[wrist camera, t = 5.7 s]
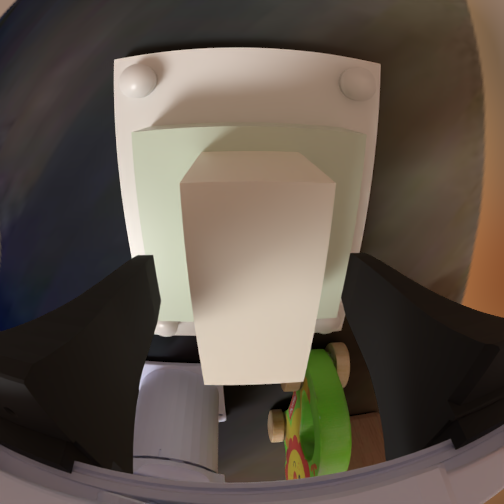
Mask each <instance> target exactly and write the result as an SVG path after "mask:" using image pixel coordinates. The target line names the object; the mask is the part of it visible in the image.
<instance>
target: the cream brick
mask: <svg viewBox="0 0 504 504" xmlns="http://www.w3.org/2000/svg"><path fill="white" fill-rule="evenodd" d="M335 189H336V183H335V182H334V181H333V180H332V179H330V178H329V177H328V176H327V175H326V174H325V173H323V172H322V171H321V170H320V169H319V168H318V167H316V166H315V165H314V164H313V163H312V162H310V161H309V160H308V159H307V158H305V157H304V156H303V155H302V154H301V153H299V152H285V151H211V152H201V153H200V155H199V156H198V157H197V159H196V160H195V162H194V163H193V164H192V166H191V167H190V169H189V170H188V172H187V173H186V174H185V176H184V177H183V179H182V180H181V182H180V197H181V210H182V221H183V232H184V243H185V252H186V262H187V271H188V279H189V287H190V295H191V303H192V310H193V317H194V324H195V331H196V337H197V344H198V350H199V356H200V362H201V368H202V374H203V380H204V385H256V384H277V383H292V382H303V381H304V377H305V373H306V368H307V364H308V359H309V354H310V350H311V345H312V340H313V335H314V330H315V325H316V319H317V314H318V308H319V303H320V297H321V291H322V285H323V279H324V273H325V267H326V260H327V253H328V246H329V239H330V232H331V224H332V216H333V207H334V198H335Z"/></svg>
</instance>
